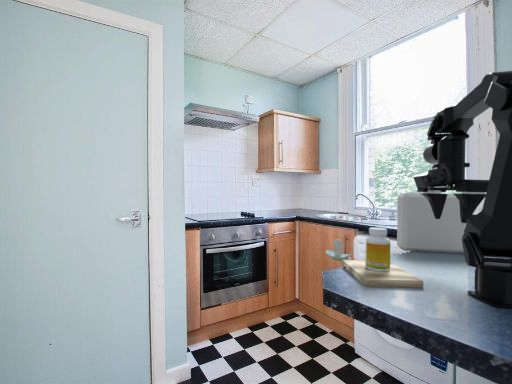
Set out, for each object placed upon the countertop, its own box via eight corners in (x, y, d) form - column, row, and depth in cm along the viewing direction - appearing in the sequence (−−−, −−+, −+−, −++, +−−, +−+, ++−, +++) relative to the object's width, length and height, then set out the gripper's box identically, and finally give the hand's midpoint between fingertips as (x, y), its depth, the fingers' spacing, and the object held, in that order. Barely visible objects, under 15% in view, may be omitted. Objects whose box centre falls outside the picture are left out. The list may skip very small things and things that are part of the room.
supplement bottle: (393, 273, 60) (393, 230, 60) (368, 271, 61) (368, 229, 61) (386, 266, 65) (386, 227, 65) (363, 265, 66) (363, 226, 66)
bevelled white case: (455, 249, 95) (456, 194, 95) (470, 254, 87) (471, 194, 87) (394, 246, 98) (395, 193, 98) (403, 251, 90) (404, 193, 90)
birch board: (423, 287, 55) (423, 280, 55) (365, 286, 55) (365, 279, 55) (386, 266, 71) (386, 260, 71) (341, 265, 71) (342, 259, 71)
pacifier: (331, 256, 82) (323, 259, 78) (332, 236, 83) (324, 237, 78) (355, 260, 78) (347, 263, 73) (355, 239, 78) (348, 241, 73)
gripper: (399, 163, 76) (398, 216, 76) (445, 153, 57) (443, 224, 57) (438, 163, 76) (437, 217, 76) (496, 154, 57) (495, 225, 57)
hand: (449, 220), depth 67 cm, fingers open, 9 cm apart
